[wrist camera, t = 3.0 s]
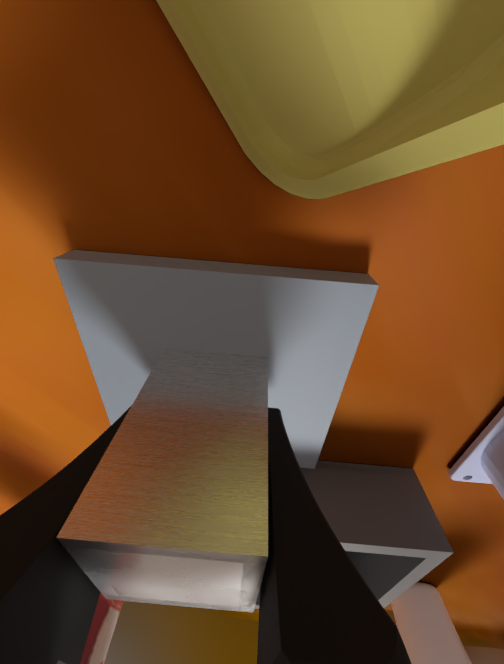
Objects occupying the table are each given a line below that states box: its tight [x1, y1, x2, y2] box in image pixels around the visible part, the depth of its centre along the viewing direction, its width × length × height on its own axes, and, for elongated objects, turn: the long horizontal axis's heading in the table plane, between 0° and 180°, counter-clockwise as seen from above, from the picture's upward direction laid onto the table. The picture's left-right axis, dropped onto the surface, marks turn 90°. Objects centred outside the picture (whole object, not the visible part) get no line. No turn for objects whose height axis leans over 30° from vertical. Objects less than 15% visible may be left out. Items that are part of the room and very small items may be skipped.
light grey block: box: [56, 348, 268, 613], centre depth 10 cm, size 5×5×7 cm
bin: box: [255, 461, 454, 609], centre depth 19 cm, size 14×14×4 cm
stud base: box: [53, 250, 379, 469], centre depth 11 cm, size 12×12×6 cm
